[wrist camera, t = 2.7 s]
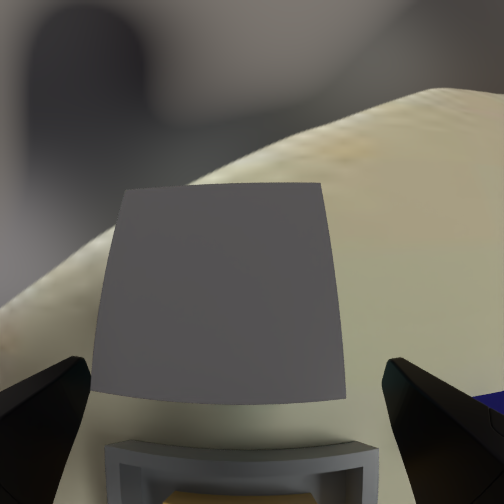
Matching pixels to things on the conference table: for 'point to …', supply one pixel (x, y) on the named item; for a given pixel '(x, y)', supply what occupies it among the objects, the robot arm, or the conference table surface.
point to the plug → (221, 297)
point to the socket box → (241, 474)
